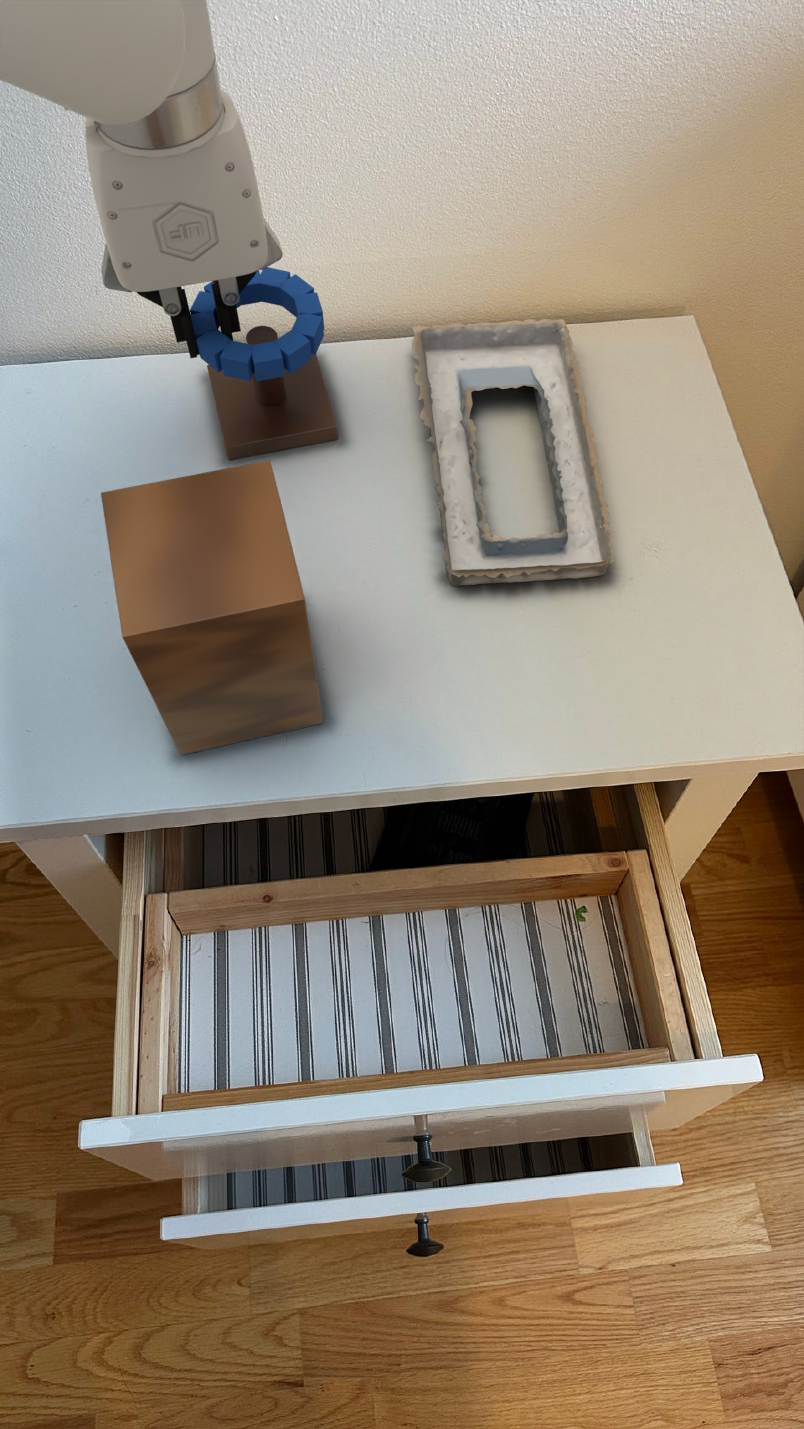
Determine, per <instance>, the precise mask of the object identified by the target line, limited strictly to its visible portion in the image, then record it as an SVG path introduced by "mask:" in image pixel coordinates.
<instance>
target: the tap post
mask: <svg viewBox="0 0 804 1429" xmlns="http://www.w3.org/2000/svg"><path fill="white" fill-rule="evenodd" d="M278 338H279V334H278V333H277V331H276V329H274V328H273V327H271V326H268V325H258V326H255V327H254V326H253V327H252V328H251V329H249V330H248V331H247V333H246V335H245V341H246V342H245V343H246V344H251V345H255V344H261V343H266V342H272V341H275V340H277V339H278ZM311 355H312V359H311V360H310V361H309V362H307V363H306V364H304V365H303V366H301V367H300V368H299V369H297V370H296V371H294V372H293V373H289V372H288V371H287V370H286V369H284V371H285V376H283V377H278V378H272V379H267V380H261V381H257V380H256V376H255V373H254V375H253V377H252V379H251V381H246V380H242V379H237V378H233V377H228V376H224V374H223V370H222V371H221V372H219V373H218V372H217V371H215V370H214V369H213V368H212V367H211V366H210V365H208V364H207V365H206V368H207V373H208V377H209V378H208V379H209V381H210V382H209V383H210V386H211V391H212V396H213V399H214V405H215V408H216V409H215V410H216V413H217V418H218V422H219V427H220V432H221V436H222V439H223V445H224V449H225V454H226V459H227V460H228V461H231V460H235V459H242V458H246V457H252V456H256V455H257V456H258V455H262V454H267V453H272V452H277V451H283V450H288V449H294V448H298V447H303V446H310V445H314V444H320V443H324V442H325V443H326V442H330V441H334V440H335V441H337V440H338V439H339V432H338V431H339V430H338V424H337V421H336V417H335V414H334V410H333V406H332V404H331V401H330V400H331V399H330V397H329V394H328V390H327V386H326V383H325V379H324V376H323V372H322V369H321V365H320V363H319V359H318V356H317V354H316V355H313V354H311Z"/></svg>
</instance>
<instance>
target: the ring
mask: <svg viewBox="0 0 804 1429" xmlns="http://www.w3.org/2000/svg"><path fill="white" fill-rule="evenodd" d="M211 284H214V282H213V281H209V282H208V283H207V284H206V285H204V286H203V290H204V291H202V290H199V291H198V293H197V295H196V297H195V299H194V301H193V302H192V304H191V307H189V310H190V314H191V319H192V323H193V328H194V333H195V337H196V341H197V345H198V350H199V354H200V355H199V357H200V359H201V360H202V361H203V362H205V363H206V364H207V365H210V366H211V367H212V368H213V369H214V370H215V371H217V372H218V373H219V372H221V371H222V370H223V374H224V376H228V377H233V378H237V379H242V380H246V381H251V379H252V377H253V375H254V373H255V376H256V380H257V381H261V380H267V379H272V378H278V377H283V376H285V371H284V369H286V370H287V371H288V372H289V373H293V372H294V371H296V370H297V369H299V368H300V367H301V366H303V365H304V364H306V363H307V362H309V361H310V360H311V359H312V355H311V354H313V355H317V353H318V351H319V348H320V346H321V344H322V341H323V339H324V337H325V321H324V320H325V319H324V310H323V307H322V304H321V301H320V298H319V294H318V292H315V288H314V286H312V285H311V284H309V283H308V282H307V281H306V280H304V279H303V278H302V277H300V276H299V275H298V274H293V275H291V271H287V270H283V269H278V268H274V267H270V266H268V267H266V268H265V269H263V270H261V272H260V270H258V271H257V272H256V275H255V276H254V277H253V278H252V280H251V281H250V282H249V283H248V284H247V286H246V287H245V288H244V289H243V290H242V291H241V293H240V294H239V297H240V299H239V302H238V303H237V304H236V307H237V309H238V308H239V307H241V306H242V307H243V306H246V305H252V304H258V303H266V304H271V305H275V306H280V307H282V308H283V309H285V310H286V311H287V312H289V313H290V314H291V315H292V316H294V317H295V318H296V319H295V321H294V323H293V325H292V327H291V329H290V330H288V331H287V332H285V333H284V334H283V335H281V336H280V337H278V339H277V340H275V341H272V342H266V343H261V344H255V345H251V344H247V342H241V341H237V340H234V339H233V340H230V339H229V338H228V337H227V336H226V335H224V334H222V332H221V330H219V329H220V325H219V320H218V315H217V310H216V306H215V301H214V296H213V291H212V286H211Z"/></svg>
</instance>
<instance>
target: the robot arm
mask: <svg viewBox="0 0 804 1429" xmlns="http://www.w3.org/2000/svg"><path fill="white" fill-rule="evenodd" d="M210 20H211V19H210V15H209V7H208V2H207V0H0V81H2V82H4V83H7V84H9V85H12V86H14V87H16V88H19V89H21V90H24V91H25V92H29V93H30V94H33V95H35V96H37V97H40V98H42V99H45V100H47V101H49V102H51V103H54V104H56V105H57V106H60V107H63V109H64V111H65V112H69V111H71V112H73V113H75V114H77V115H80V116H82V117H84V118H85V121H84V122H85V123H84V124H85V126H84V127H85V134H84V135H85V148H86V150H85V151H86V156H87V165H88V169H89V176H90V182H91V186H92V191H93V195H94V200H95V204H96V208H97V212H98V213H97V214H98V216H99V219H100V225H101V228H102V229H101V230H102V232H103V236H104V239H105V246H104V252H103V257H102V263H101V277H102V283H103V286H104V287H105V288H106V289H109V290H113V291H118V292H125V293H131V294H132V293H134V292H135V293H136V294H137V295H138V296H140V297H142V298H143V299H146V300H147V301H150V302H151V303H154V304H155V305H157V306H159V307H162V309H163V312H164V313H165V314H166V315H167V316H169V317H170V321H171V325H172V329H173V334H174V337H175V340H176V343H182V342H183V343H184V342H186V345H187V349H188V354H189V357H190V359H196V358H198V356H200V354H199V350H198V345H197V341H196V337H195V333H194V328H193V323H192V319H191V313H190V305H189V302H188V297H187V293H186V289H185V288H183V287H186V286H190V285H199V284H203V283H210V282H212V281H213V282H214V284H211V286H212V291H213V296H214V301H215V306H216V310H217V315H218V320H219V325H220V327H219V329H220V331H221V332H222V334H224V335H226V336H227V337H228V338H229V339H230V340H233V341H234V337H233V334H234V333H239V332H241V331H242V329H241V322H240V317H239V312H238V308H237V307H236V304H237V303H238V302H239V299H240V297H239V294H240V293H241V291H242V290H243V289H244V288H245V287H246V286H247V284H248V283H249V282H250V281H251V280H252V278H253V277H254V276H255V275H256V272H257V271H258V270H259V271H262V270H263V269H265V268H266V267H270V266H272V265H273V264H275V263H277V262H279V261H280V260H281V259H282V258H283V255H284V253H283V250H282V246H281V243H280V240H279V238H278V237H277V235H276V234H275V232H274V231H273V229H272V228H271V226H270V225H269V223H268V221H267V220H266V218H265V217H264V212H263V207H262V202H261V196H260V191H259V186H258V182H257V176H256V171H255V167H254V162H253V158H252V154H251V150H250V146H249V143H248V139H247V136H246V133H245V129H244V127H243V123H242V120H241V118H240V115H239V114H238V111H237V109H236V107H235V104H234V102H233V101H232V98H231V97H230V96H229V94H228V93H227V92H226V91H225V90H223V89H222V88H221V82H220V76H219V70H218V63H217V58H216V57H217V56H216V52H215V46H214V39H213V33H212V28H211V21H210Z"/></svg>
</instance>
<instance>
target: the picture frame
mask: <svg viewBox="0 0 804 1429" xmlns="http://www.w3.org/2000/svg"><path fill="white" fill-rule="evenodd" d="M411 329H412V330H413V334H414V335H413V338H412V340H411V352H412V354H413V357H414V359H415V360H416V361H418V365H414V368H415V369H416V370H417V372H416V373H415V374H414V381H415V384H416V386H419V389H420V390H419V396H418V399H417V400H418V401H421V400H423V408H422V410H421V412H420V416H419V418H420V419H422V420H424V421H423V422H424V426H425V427H428V428H429V432H430V437H429V438H428V439H427V440H426V441H427V442H431V445H432V446H431V447H432V467H433V472H434V482H435V483H436V485H437V490H436V492H437V496H438V504H437V505H438V507H439V513H440V514H439V516H440V521H441V530H442V540H443V547H442V548H443V552H442V559H443V560H444V564H445V568H446V572H447V578H448V581H449V584H450V585H451V586H470V585H472V586H474V585H487V584H492V585H493V584H502V583H508V584H513V583H523V582H538V581H539V582H543V581H554V580H565V579H581V578H584V579H585V578H592V577H598V576H599V577H600V576H604V575H605V573H606V571H607V568H608V566H609V563H610V564H611V565H612V564H613V562H614V561H615V556H616V554H615V552H614V551H613V549H612V545H613V543H614V542H613V540H611V539H610V537H609V536H610V528H611V527H610V522H609V521H608V518H609V514H610V513H609V510H608V504H607V501H605V499H604V498H603V496H604V493H605V492H604V490H603V484H602V482H601V481H602V480H601V473H600V470H599V465H598V462H599V458H600V457H599V455H598V453H597V450H596V447H597V446H596V445H597V443H596V442H595V441H594V440H593V438H594V428H593V425H592V424H591V423H590V421H589V419H588V416H587V406H586V404H585V402H587V397H586V394H585V390H584V389H583V388H582V387H581V379H582V378H581V376H580V374H581V370H580V365H579V361H578V360H576V359H575V356H576V351H575V350H574V349H572V348H573V347H574V343H573V340H572V337H571V336H570V330H569V328H568V326H567V324H566V322H565V319H563V318H559V319H550V318H542V319H540V320H536V319H534V318H528V319H524V320H523V321H522V320H519V319H518V320H517V319H513V320H507V321H499V322H486V321H481V322H477V323H476V322H475V323H470V322H468V324H467V325H466V324H464V323H461V322H455V323H453V322H452V323H448V324H434V325H431V326H425V325H424V326H423V325H415V326H413V327H411ZM523 386H526V387H533V391H534V397H535V400H536V409H537V416H538V418H539V423H540V429H541V434H542V438H543V447H544V452H545V458H546V460H547V467H548V472H549V476H550V483H551V484H550V485H551V489H552V492H553V494H552V495H553V500H554V507H555V512H556V517H557V521H558V528H559V532H555V531H554V532H553V534H539V535H536V536H534V537H533V536H532V537H510V538H503V537H501V536H499V535H493V536H491V533H490V528H489V527H490V526H489V523H487V522H486V521H485V516H486V512H487V508H486V507H485V505H484V504H483V500H482V496H481V493H482V491H483V490H482V487H481V486H480V484H479V480H480V478H481V476H480V475H479V474H478V472H477V469H476V468H477V467H476V463H477V461H478V458H477V452H478V449H477V448H476V446H475V441H476V440H477V437H476V435H475V433H476V431H477V427H476V426H475V425H474V420H473V419H470V418H471V412H472V408H473V398H472V392H474V391H478V392H479V391H483V390H485V389H496V388H499V389H501V390H504V389H510V388H512V389H518V388H520V387H523Z"/></svg>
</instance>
